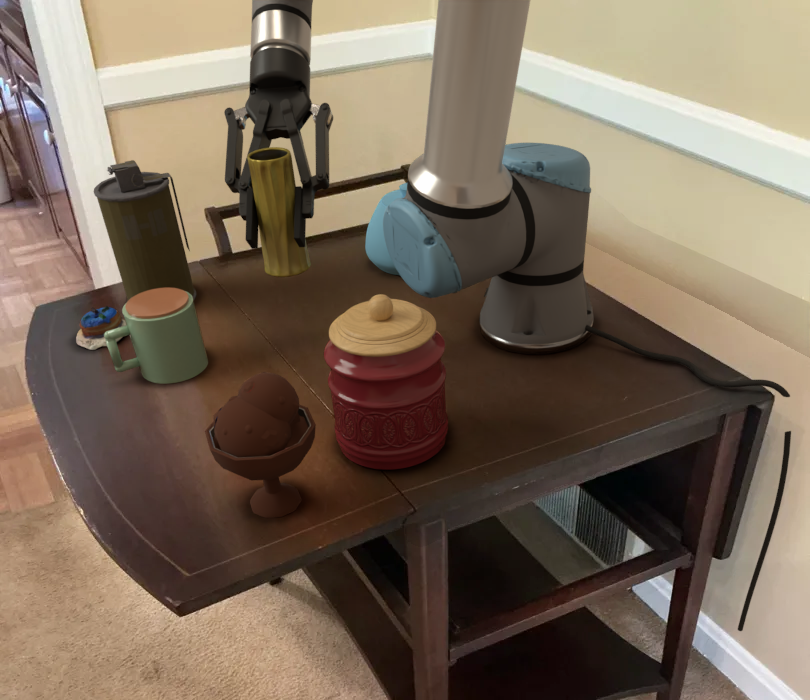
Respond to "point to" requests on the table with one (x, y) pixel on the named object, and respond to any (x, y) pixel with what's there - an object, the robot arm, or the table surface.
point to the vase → (277, 211)
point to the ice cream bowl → (263, 440)
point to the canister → (144, 229)
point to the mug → (161, 336)
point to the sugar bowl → (382, 233)
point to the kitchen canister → (387, 383)
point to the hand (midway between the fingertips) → (275, 243)
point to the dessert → (98, 327)
